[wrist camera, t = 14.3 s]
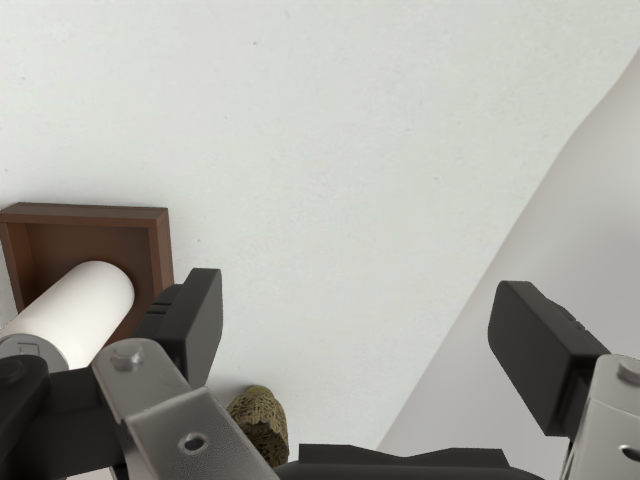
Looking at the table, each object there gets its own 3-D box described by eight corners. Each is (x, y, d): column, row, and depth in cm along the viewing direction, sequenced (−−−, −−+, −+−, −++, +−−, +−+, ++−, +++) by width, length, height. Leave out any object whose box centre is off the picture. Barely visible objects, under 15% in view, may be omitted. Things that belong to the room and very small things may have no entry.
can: (72, 315, 44) (-10, 400, 33) (64, 255, 41) (-27, 325, 30) (138, 320, 44) (79, 406, 33) (134, 261, 42) (69, 332, 31)
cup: (215, 408, 49) (197, 469, 42) (240, 359, 47) (226, 414, 39) (276, 430, 51) (269, 493, 43) (303, 383, 48) (301, 441, 41)
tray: (18, 202, 40) (-7, 213, 37) (167, 207, 41) (156, 219, 38) (50, 353, 46) (31, 374, 43) (180, 357, 47) (171, 377, 44)
